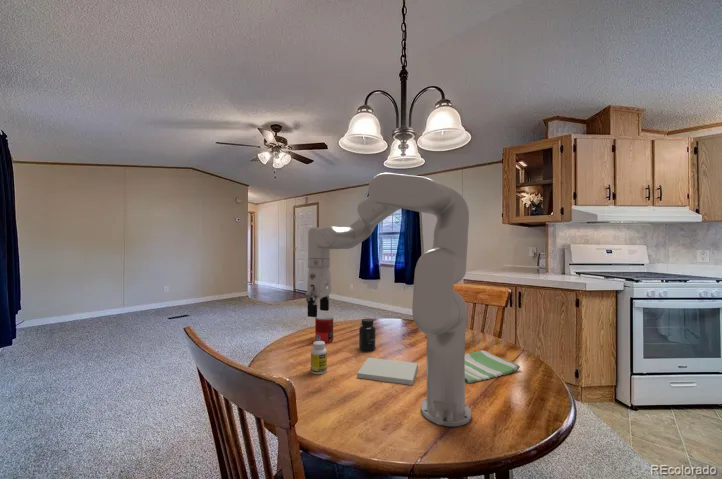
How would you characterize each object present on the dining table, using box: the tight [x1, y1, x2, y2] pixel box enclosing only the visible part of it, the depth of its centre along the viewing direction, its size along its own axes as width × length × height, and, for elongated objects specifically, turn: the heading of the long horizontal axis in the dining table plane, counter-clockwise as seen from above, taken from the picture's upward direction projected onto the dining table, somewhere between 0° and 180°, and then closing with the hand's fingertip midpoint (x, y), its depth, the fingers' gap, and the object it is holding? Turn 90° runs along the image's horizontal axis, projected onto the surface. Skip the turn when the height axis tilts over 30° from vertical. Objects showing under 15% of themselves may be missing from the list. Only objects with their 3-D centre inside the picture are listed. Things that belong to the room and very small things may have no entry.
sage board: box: [356, 357, 419, 386], centre depth 103 cm, size 14×18×2 cm
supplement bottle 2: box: [358, 318, 377, 352], centre depth 126 cm, size 7×7×12 cm
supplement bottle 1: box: [310, 340, 328, 375], centre depth 104 cm, size 5×5×10 cm
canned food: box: [314, 314, 334, 345], centre depth 136 cm, size 8×8×11 cm
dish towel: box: [465, 349, 521, 384], centre depth 107 cm, size 18×23×3 cm
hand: (318, 313), depth 104 cm, fingers open, 9 cm apart
